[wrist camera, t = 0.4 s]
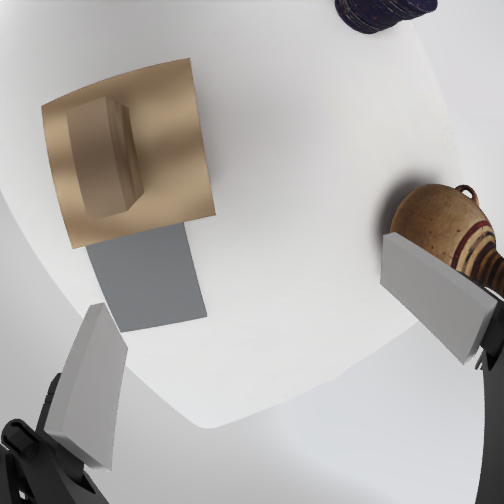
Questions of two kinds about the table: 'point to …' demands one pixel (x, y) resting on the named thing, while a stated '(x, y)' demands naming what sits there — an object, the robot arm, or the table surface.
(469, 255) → the vase
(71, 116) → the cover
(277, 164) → the table surface
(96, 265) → the mat
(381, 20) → the dark blue cylinder
